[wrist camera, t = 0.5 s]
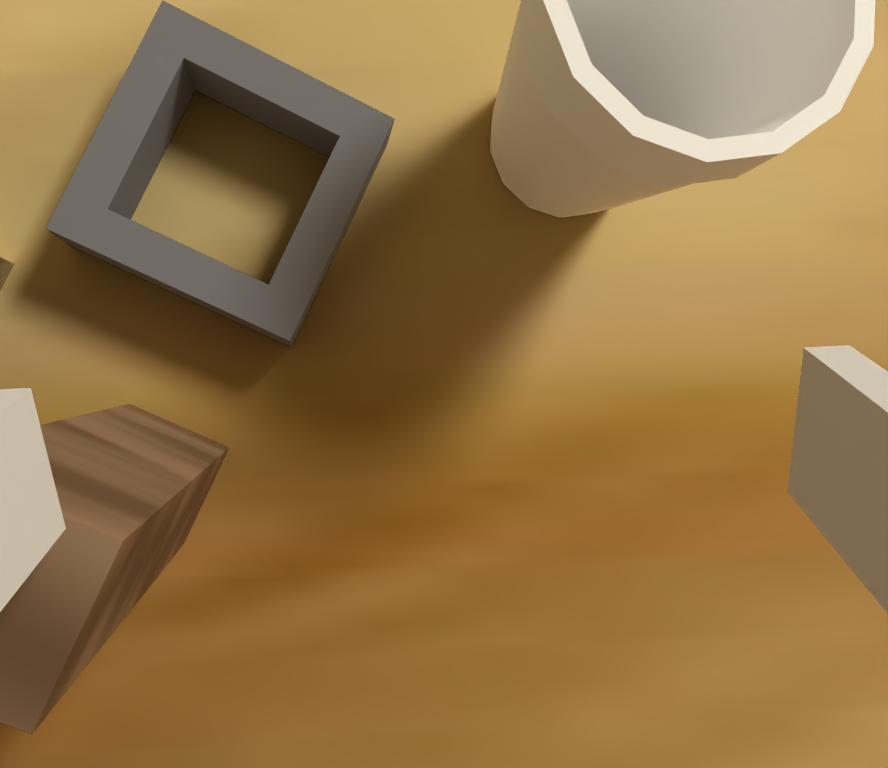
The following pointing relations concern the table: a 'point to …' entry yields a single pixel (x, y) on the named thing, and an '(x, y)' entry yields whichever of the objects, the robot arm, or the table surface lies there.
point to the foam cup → (665, 92)
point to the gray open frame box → (4, 270)
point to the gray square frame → (148, 134)
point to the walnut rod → (99, 546)
